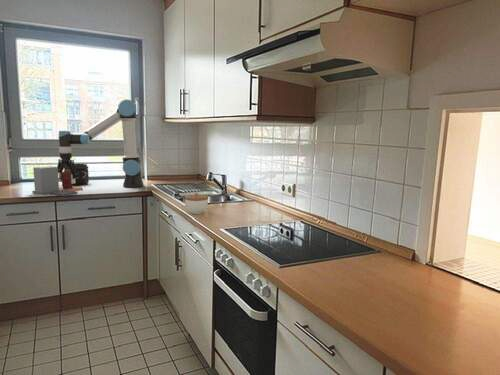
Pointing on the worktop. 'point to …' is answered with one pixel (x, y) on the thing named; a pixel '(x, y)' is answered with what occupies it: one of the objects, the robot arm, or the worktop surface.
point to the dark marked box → (80, 174)
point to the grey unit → (46, 180)
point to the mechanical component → (66, 179)
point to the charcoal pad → (64, 193)
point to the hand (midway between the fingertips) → (67, 182)
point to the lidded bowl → (196, 203)
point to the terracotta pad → (71, 188)
